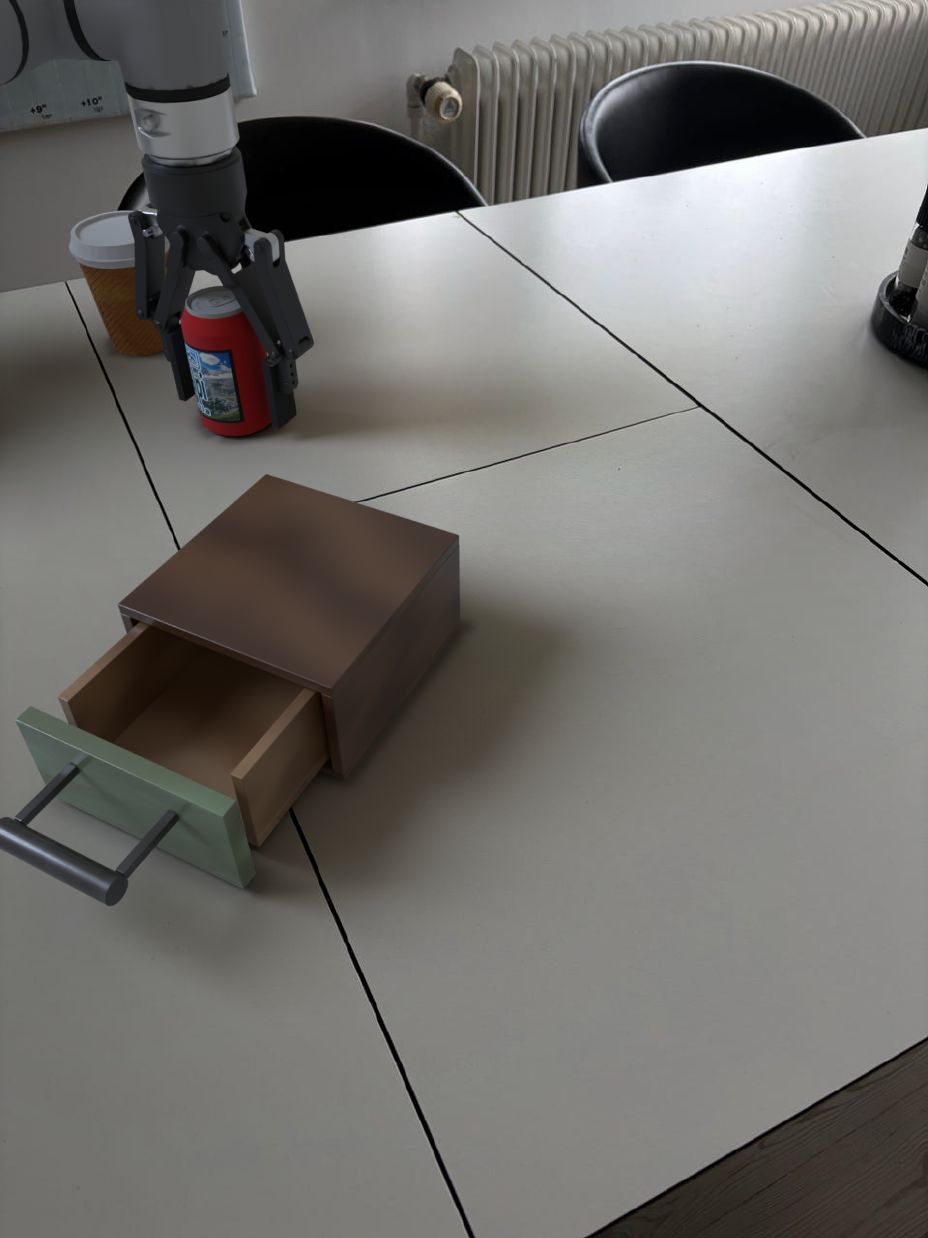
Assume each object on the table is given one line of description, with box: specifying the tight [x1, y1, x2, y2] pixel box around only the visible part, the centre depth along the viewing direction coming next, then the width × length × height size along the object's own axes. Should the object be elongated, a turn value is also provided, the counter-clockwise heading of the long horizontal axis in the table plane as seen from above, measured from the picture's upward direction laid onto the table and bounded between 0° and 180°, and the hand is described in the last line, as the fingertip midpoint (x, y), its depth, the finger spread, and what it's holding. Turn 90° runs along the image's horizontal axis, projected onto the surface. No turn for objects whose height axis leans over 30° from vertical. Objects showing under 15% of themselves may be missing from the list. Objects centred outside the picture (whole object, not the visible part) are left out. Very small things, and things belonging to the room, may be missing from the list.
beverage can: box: [180, 285, 272, 437], centre depth 88 cm, size 7×7×12 cm
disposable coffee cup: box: [68, 210, 170, 357], centre depth 100 cm, size 10×10×12 cm
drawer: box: [0, 621, 331, 907], centre depth 59 cm, size 20×14×7 cm
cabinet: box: [117, 473, 461, 781], centre depth 67 cm, size 16×16×9 cm
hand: (237, 407), depth 91 cm, fingers open, 10 cm apart
